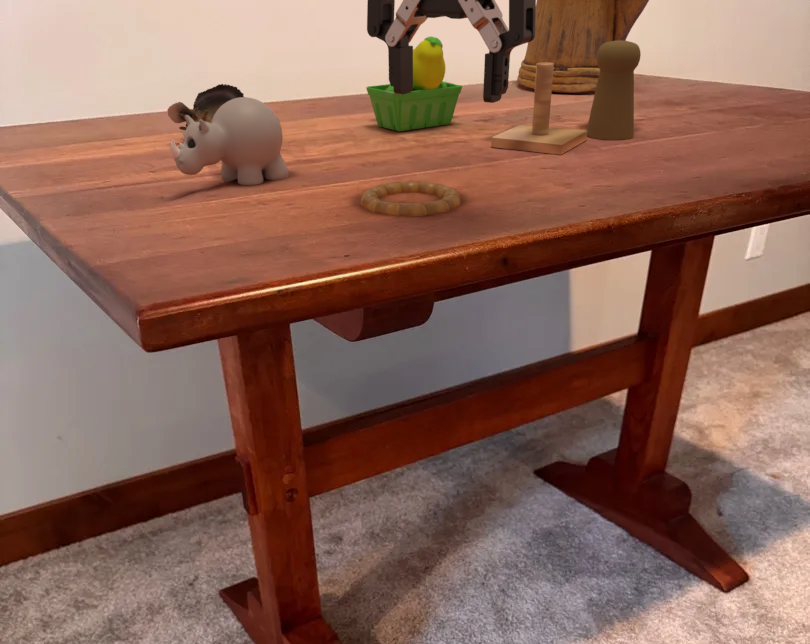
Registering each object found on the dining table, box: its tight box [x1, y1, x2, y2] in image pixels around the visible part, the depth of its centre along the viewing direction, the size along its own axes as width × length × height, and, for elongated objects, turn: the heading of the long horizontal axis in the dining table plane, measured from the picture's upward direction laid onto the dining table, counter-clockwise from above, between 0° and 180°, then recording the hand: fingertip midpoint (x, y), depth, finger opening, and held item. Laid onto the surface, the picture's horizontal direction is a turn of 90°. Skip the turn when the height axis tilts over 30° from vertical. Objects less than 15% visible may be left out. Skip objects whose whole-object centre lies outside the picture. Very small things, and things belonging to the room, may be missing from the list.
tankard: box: [516, 0, 650, 94], centre depth 130 cm, size 18×24×25 cm
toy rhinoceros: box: [170, 96, 290, 186], centre depth 80 cm, size 7×12×8 cm, turn 129°
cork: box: [585, 40, 642, 141], centre depth 100 cm, size 6×6×11 cm
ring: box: [359, 180, 462, 217], centre depth 74 cm, size 9×9×2 cm
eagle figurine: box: [166, 83, 245, 132], centre depth 101 cm, size 8×7×9 cm
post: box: [490, 62, 588, 156], centre depth 96 cm, size 9×9×9 cm
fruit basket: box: [365, 36, 463, 132], centre depth 106 cm, size 11×9×11 cm
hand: (446, 97), depth 68 cm, fingers open, 8 cm apart
